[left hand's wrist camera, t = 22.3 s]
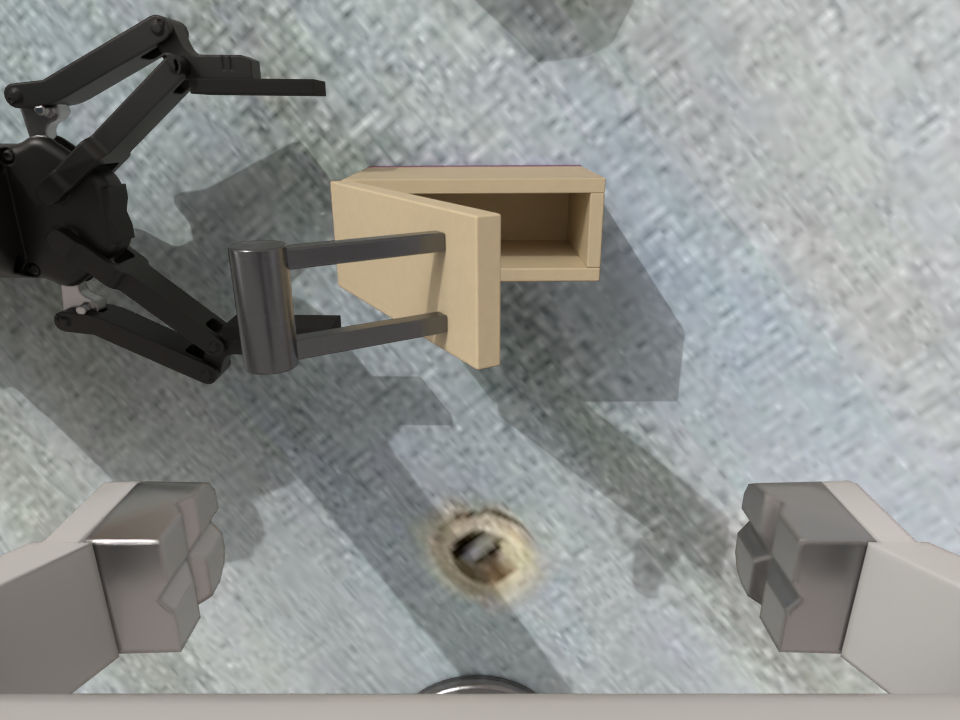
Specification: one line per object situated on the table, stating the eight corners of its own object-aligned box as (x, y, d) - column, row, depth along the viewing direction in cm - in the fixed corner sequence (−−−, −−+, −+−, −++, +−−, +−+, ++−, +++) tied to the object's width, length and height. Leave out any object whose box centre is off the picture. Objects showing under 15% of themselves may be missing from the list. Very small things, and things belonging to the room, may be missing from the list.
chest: (579, 165, 43) (605, 177, 35) (576, 248, 45) (599, 281, 36) (369, 166, 43) (341, 179, 35) (374, 249, 45) (348, 282, 36)
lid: (501, 213, 22) (243, 236, 18) (501, 365, 24) (266, 417, 20) (348, 180, 34) (171, 189, 30) (355, 283, 36) (190, 306, 32)
